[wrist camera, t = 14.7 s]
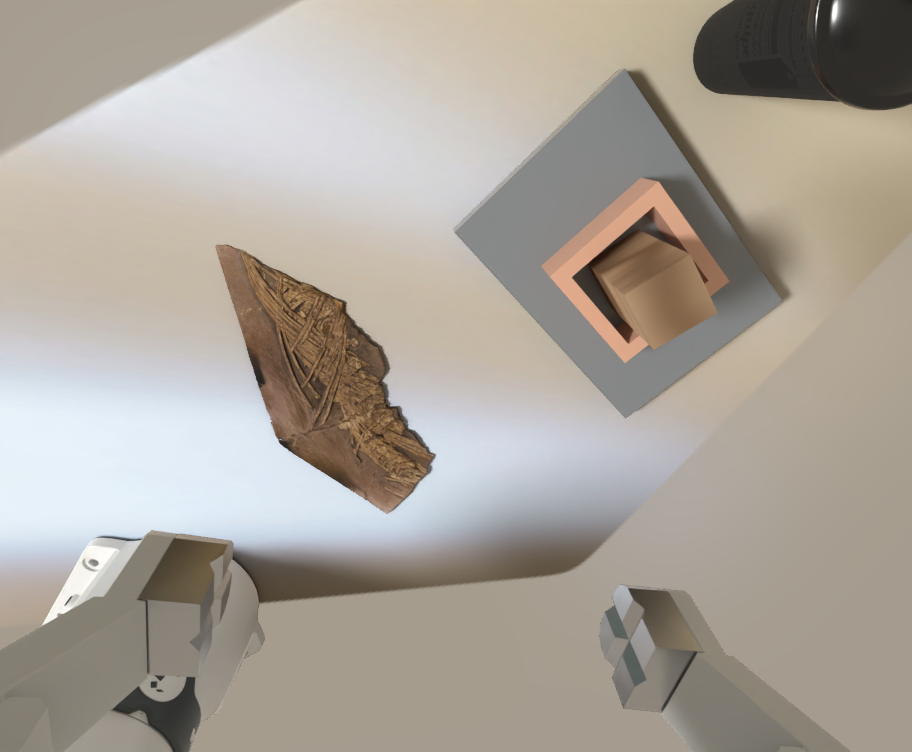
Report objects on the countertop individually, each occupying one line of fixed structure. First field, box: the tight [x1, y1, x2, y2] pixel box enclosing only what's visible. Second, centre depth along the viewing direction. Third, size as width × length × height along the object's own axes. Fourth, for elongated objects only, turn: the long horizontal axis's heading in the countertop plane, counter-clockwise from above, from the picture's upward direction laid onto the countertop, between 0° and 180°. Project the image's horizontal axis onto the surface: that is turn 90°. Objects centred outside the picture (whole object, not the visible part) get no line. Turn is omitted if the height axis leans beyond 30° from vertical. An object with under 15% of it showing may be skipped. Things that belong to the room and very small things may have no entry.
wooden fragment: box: [216, 245, 433, 514], centre depth 41 cm, size 26×11×1 cm, turn 22°
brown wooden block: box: [587, 230, 718, 350], centre depth 33 cm, size 4×4×8 cm
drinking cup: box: [693, 0, 912, 110], centre depth 23 cm, size 8×8×20 cm
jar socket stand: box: [454, 69, 782, 418], centre depth 36 cm, size 14×20×4 cm
